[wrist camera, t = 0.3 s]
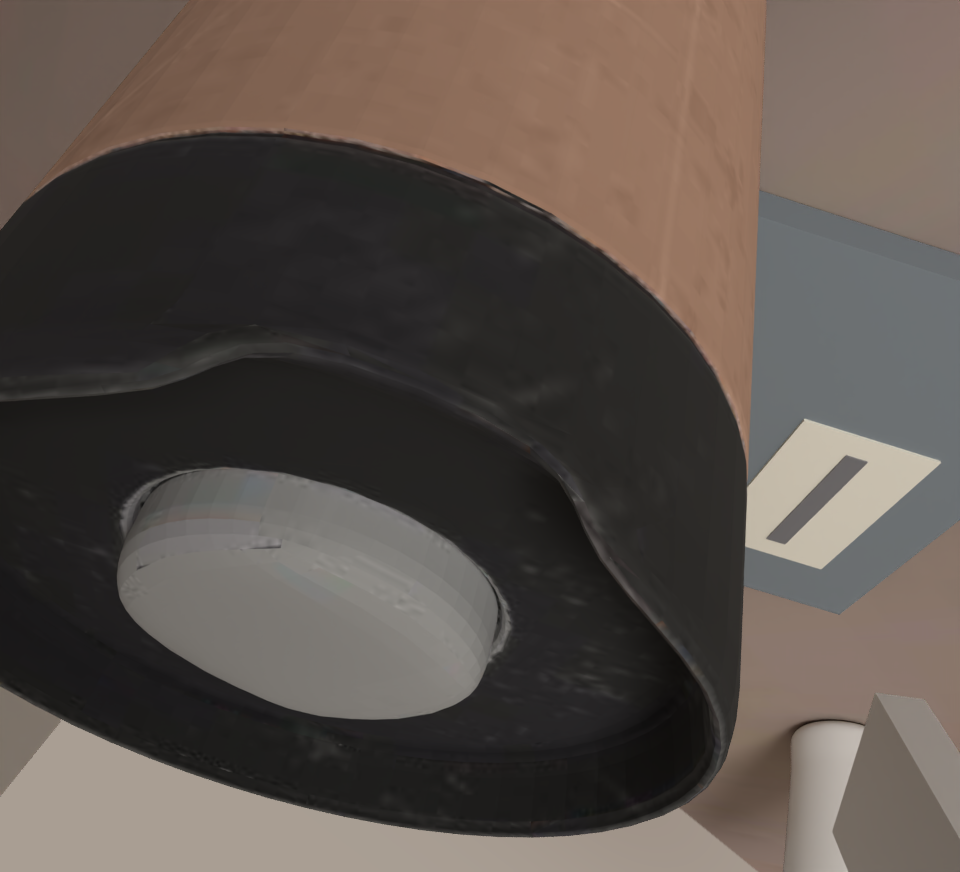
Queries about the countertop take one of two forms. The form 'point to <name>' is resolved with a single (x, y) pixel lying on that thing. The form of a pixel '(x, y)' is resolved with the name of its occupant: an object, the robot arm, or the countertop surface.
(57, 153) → the countertop surface
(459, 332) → the travel mug
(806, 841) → the drinking glass
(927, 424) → the label board
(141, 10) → the countertop surface
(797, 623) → the countertop surface
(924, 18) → the countertop surface
